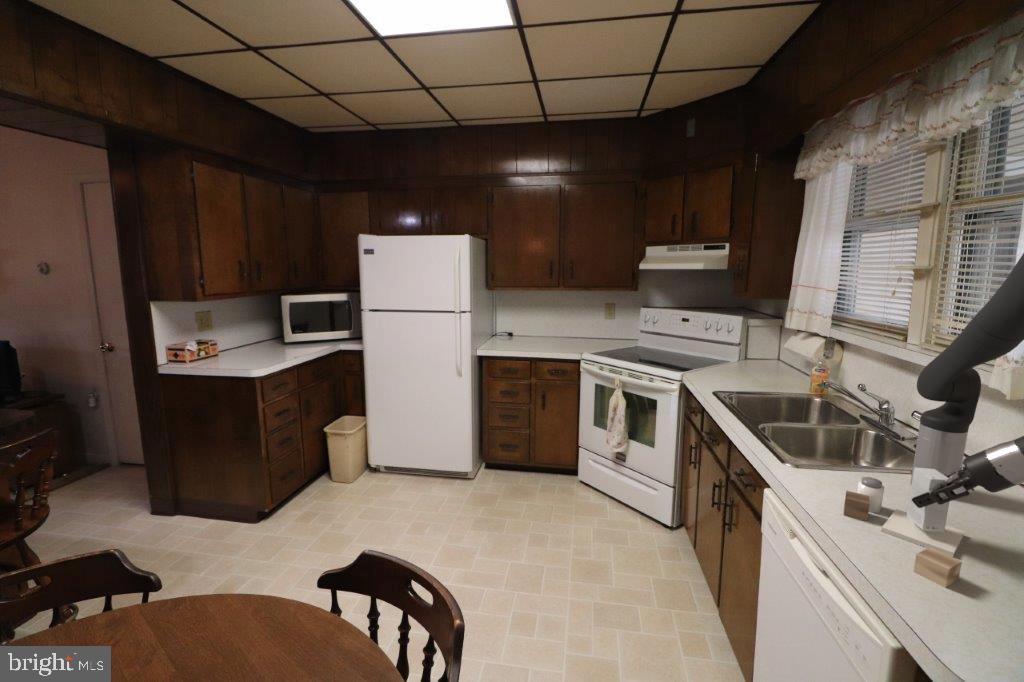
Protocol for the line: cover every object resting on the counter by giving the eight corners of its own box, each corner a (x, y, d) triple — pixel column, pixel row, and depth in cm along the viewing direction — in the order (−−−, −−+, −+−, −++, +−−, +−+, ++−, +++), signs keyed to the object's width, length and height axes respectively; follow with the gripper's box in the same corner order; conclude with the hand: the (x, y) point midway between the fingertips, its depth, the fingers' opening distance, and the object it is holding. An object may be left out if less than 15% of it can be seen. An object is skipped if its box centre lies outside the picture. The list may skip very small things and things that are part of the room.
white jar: (859, 500, 120) (862, 474, 118) (883, 508, 116) (887, 481, 115) (852, 506, 117) (856, 480, 115) (877, 515, 113) (881, 487, 111)
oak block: (926, 565, 95) (929, 547, 94) (958, 580, 90) (961, 561, 90) (913, 572, 93) (916, 554, 92) (945, 588, 88) (948, 569, 88)
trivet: (895, 512, 114) (896, 509, 113) (963, 535, 104) (964, 531, 104) (881, 531, 106) (881, 527, 106) (953, 557, 97) (953, 552, 97)
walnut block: (844, 507, 116) (846, 490, 115) (866, 513, 114) (869, 495, 113) (843, 515, 113) (845, 498, 112) (867, 521, 110) (869, 503, 109)
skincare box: (945, 533, 101) (954, 480, 99) (922, 530, 102) (930, 479, 100) (927, 517, 107) (935, 468, 105) (905, 516, 108) (912, 466, 106)
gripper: (992, 440, 100) (913, 472, 111) (981, 458, 91) (897, 492, 102) (1024, 472, 97) (940, 502, 108) (1016, 494, 88) (925, 525, 99)
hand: (919, 497), depth 105 cm, fingers closed on skincare box, 7 cm apart
